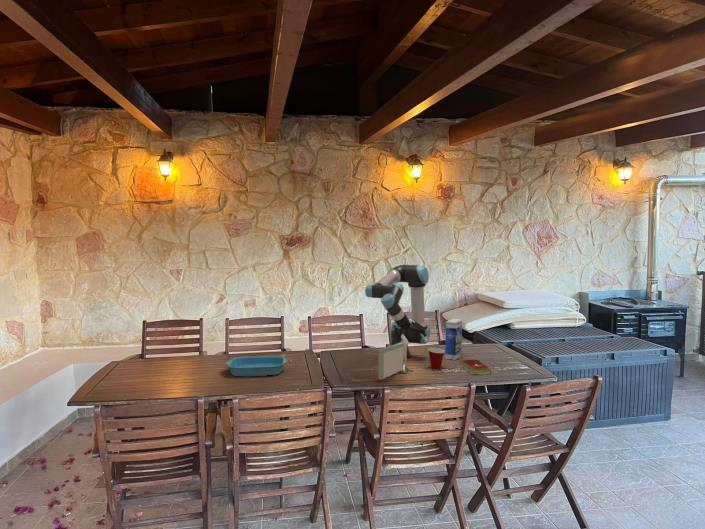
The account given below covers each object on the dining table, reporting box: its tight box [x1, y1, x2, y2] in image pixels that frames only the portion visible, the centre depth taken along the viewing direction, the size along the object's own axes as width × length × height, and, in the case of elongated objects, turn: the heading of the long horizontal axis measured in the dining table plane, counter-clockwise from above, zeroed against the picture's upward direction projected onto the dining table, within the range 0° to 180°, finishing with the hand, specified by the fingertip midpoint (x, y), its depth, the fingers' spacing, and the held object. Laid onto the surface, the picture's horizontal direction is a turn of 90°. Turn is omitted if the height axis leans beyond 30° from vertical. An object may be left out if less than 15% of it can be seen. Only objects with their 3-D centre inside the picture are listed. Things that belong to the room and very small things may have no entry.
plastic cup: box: [427, 347, 445, 370], centre depth 296 cm, size 11×11×12 cm
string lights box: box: [444, 318, 463, 361], centre depth 321 cm, size 13×8×26 cm, turn 148°
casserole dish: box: [225, 355, 288, 377], centre depth 286 cm, size 37×22×7 cm, turn 95°
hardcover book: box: [459, 358, 492, 375], centre depth 295 cm, size 12×21×4 cm, turn 8°
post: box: [398, 340, 414, 375], centre depth 289 cm, size 8×8×20 cm
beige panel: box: [377, 343, 403, 380], centre depth 278 cm, size 23×2×17 cm, turn 142°
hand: (416, 341), depth 278 cm, fingers open, 13 cm apart
